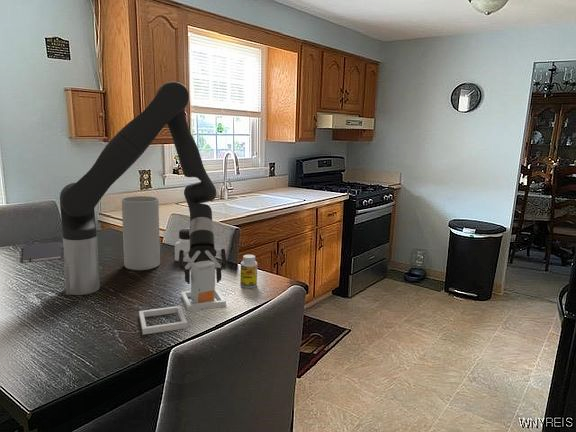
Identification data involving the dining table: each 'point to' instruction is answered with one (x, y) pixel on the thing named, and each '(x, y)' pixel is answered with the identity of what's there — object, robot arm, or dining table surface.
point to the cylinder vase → (141, 232)
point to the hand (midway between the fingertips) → (203, 282)
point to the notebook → (41, 252)
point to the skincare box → (202, 282)
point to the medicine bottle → (183, 244)
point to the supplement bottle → (248, 272)
